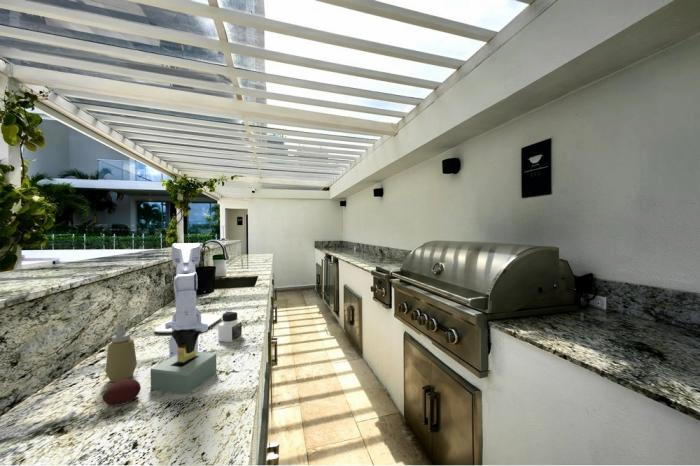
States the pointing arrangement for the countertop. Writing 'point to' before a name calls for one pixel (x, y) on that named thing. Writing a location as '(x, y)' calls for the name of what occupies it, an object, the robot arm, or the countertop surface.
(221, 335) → the medicine bottle
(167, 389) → the box
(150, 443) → the countertop surface
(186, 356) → the gold rectangular block
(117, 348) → the squeeze bottle
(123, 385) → the potato
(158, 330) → the plate
